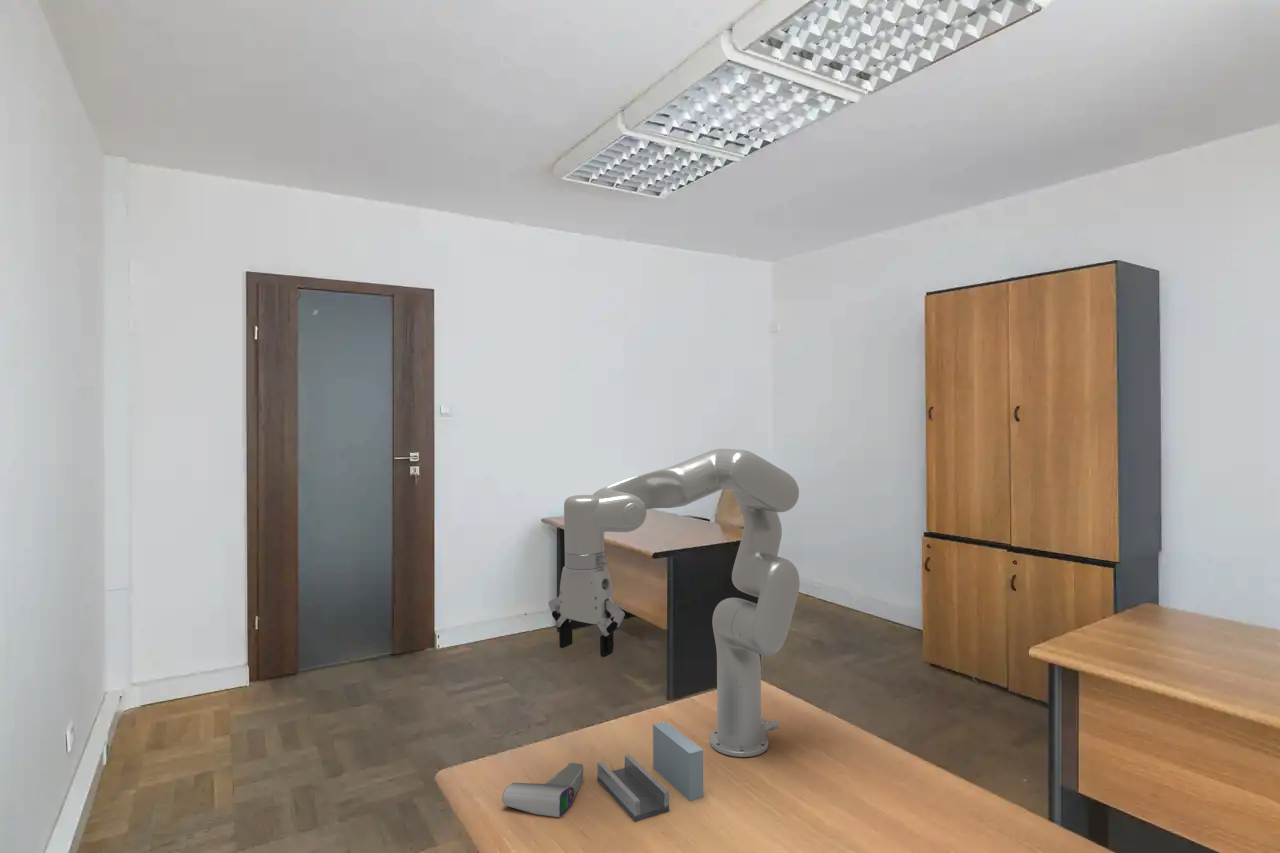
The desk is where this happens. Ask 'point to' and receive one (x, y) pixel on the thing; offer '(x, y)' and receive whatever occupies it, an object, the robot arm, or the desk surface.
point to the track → (634, 789)
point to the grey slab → (678, 760)
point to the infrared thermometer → (546, 793)
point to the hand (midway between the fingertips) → (586, 650)
